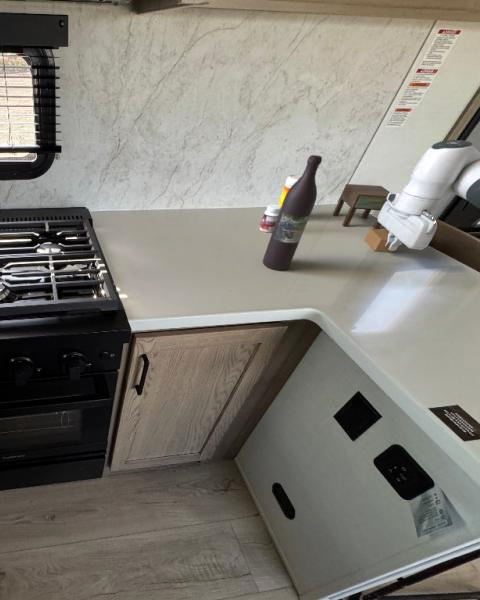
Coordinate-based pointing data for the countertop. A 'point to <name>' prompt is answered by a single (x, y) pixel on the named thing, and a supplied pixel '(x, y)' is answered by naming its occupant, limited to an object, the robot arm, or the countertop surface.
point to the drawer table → (362, 201)
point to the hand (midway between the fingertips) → (389, 248)
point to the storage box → (378, 240)
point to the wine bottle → (293, 218)
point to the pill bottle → (270, 218)
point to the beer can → (288, 186)
